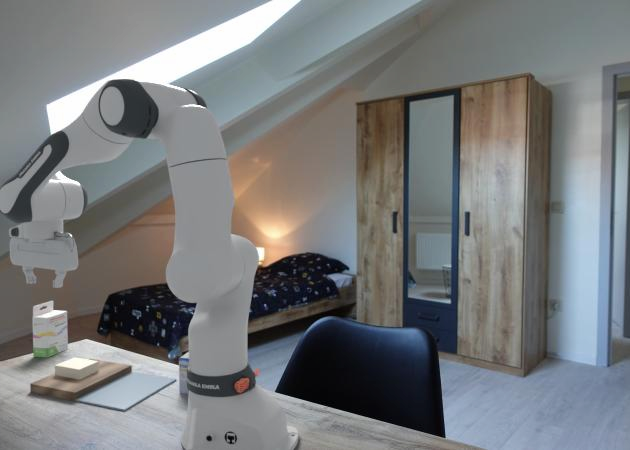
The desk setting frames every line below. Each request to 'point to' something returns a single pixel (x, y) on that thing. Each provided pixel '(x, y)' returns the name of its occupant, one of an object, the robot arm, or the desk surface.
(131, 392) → the mat
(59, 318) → the ink box
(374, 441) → the desk surface
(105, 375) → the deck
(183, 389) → the medicine box
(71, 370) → the tile
